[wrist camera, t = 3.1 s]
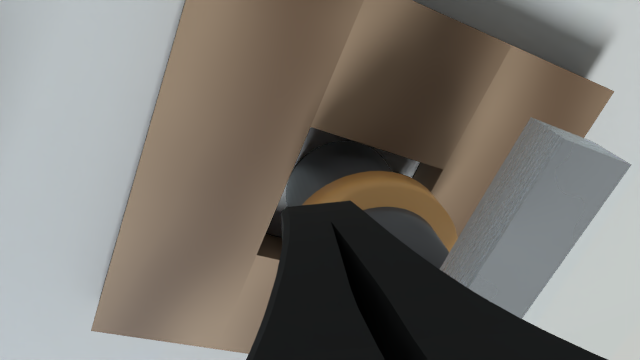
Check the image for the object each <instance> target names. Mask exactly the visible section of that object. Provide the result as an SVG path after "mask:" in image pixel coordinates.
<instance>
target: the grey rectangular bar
mask: <svg viewBox="0 0 640 360" xmlns="http://www.w3.org/2000/svg"><path fill="white" fill-rule="evenodd" d="M630 166H631V164H629V163H628V162H626V161H624V160H623V159H621V158H619V157H618V156H616V155H614V154H613V153H611V152H609V151H608V150H606V149H604V148H603V147H601V146H599V145H598V144H596V143H594V142H592V141H590V140H587V139H585V138H582V137H580V136H577V135H575V134H572V133H570V132H567V131H564V130H562V129H559V128H557V127H554V126H552V125H549V124H547V123H544V122H542V121H539V120H537V119H534V118H531V117H530V119H529V121H528V122H527V124H526V126H525V127H524V129H523V131H522V132H521V134H520V136H519V137H518V139H517V141H516V142H515V144H514V146H513V147H512V149H511V151H510V152H509V154H508V156H507V157H506V159H505V161H504V162H503V164H502V166H501V167H500V169H499V171H498V172H497V174H496V176H495V177H494V179H493V181H492V182H491V184H490V186H489V187H488V189H487V191H486V192H485V194H484V196H483V197H482V199H481V201H480V202H479V204H478V206H477V207H476V209H475V211H474V212H473V214H472V216H471V217H470V219H469V221H468V222H467V224H466V226H465V227H464V229H463V231H462V232H461V234H460V236H459V237H458V239H457V241H456V242H455V244H454V246H453V247H452V249H451V251H450V252H449V254H448V256H447V257H446V259H445V261H444V262H443V264H442V266H441V267H440V270H441V271H443V272H444V273H446V274H447V275H449V276H450V277H452V278H453V279H455V280H456V281H458V282H459V283H461V284H462V285H464V286H465V287H467V288H469V289H470V290H472V291H473V292H475V293H477V294H478V295H480V296H482V297H483V298H485V299H487V300H489V301H490V302H492V303H494V304H496V305H498V306H499V307H501V308H503V309H505V310H506V311H508V312H510V313H512V314H514V315H515V316H517V317H519V318H521V319H522V318H523V316H524V315H525V313H526V312H527V311H528V309H529V308H530V306H531V305H532V304H533V302H534V301H535V299H536V298H537V297H538V295H539V294H540V292H541V291H542V290H543V288H544V287H545V285H546V284H547V283H548V281H549V280H550V278H551V277H552V276H553V274H554V273H555V271H556V270H557V269H558V267H559V266H560V264H561V263H562V261H563V260H564V259H565V257H566V256H567V254H568V253H569V252H570V250H571V249H572V247H573V246H574V245H575V243H576V242H577V240H578V239H579V238H580V236H581V235H582V233H583V232H584V231H585V229H586V228H587V226H588V225H589V224H590V222H591V221H592V219H593V218H594V217H595V215H596V214H597V212H598V211H599V210H600V208H601V207H602V205H603V204H604V202H605V201H606V200H607V198H608V197H609V195H610V194H611V193H612V191H613V190H614V188H615V187H616V186H617V184H618V183H619V181H620V180H621V179H622V177H623V176H624V174H625V173H626V172H627V170H628V169H629V167H630Z"/></svg>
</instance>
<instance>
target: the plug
mask: <svg viewBox="0 0 640 360" xmlns="http://www.w3.org/2000/svg"><path fill="white" fill-rule="evenodd" d="M341 201H352V202H353V203H354V204H356V205H357V206H358V207H359V208H361V209H362V210H363V211H364V212H365V213H367V214H368V215H369V216H370V217H372V218H373V219H374V220H375V221H376V222H378V223H379V224H380V225H381V226H383V227H384V228H385V229H386V230H387V231H389V232H390V233H391V234H392V235H394V236H395V237H396V238H398V239H399V240H400V241H401V242H403V243H404V244H405V245H407V246H408V247H409V248H411V249H412V250H413V251H415V252H416V253H417V254H419V255H420V256H421V257H423V258H424V259H426V260H427V261H428V262H430V263H431V264H433V265H434V266H435V267H437V268H438V269H440V267H441V266H442V264H443V262H444V261H445V259H446V257H447V256H448V254H449V252H450V251H451V249H452V247H453V246H454V244H455V242H456V241H457V239H458V237H457V233H456V228H455V226H454V224H453V221H452V219H451V218H450V216H449V215H448V213H447V212H446V210H445V209H444V208H443V207H442V205H441V204H440V203H439V202H438V200H437V199H436V198H435V197H434V195H433V194H432V193H431V192H430V191H429V190H428V189H427V188H426V187H425V186H424V185H422V184H421V183H420V182H418V181H416V180H414V179H413V178H410V177H408V176H405V175H403V174H399V173H394V172H392V170H391V169H390V168H389V166H388V165H387V163H386V162H385V161H384V159H383V158H382V157H381V156H380V155H379V154H378V153H377V152H376V151H375V150H373V149H372V148H370V147H368V146H366V145H363V144H360V143H356V142H349V141H341V142H334V143H330V144H326V145H324V146H321V147H319V148H317V149H315V150H313V151H312V152H310V153H309V154H307V155H306V156H305V157H304V158H303V159H302V160H301V161H300V162H299V163H298V164H297V165H296V167H295V168H294V170H293V171H292V173H291V175H290V177H289V180H288V183H287V188H286V202H287V206H288V207H291V206H301V205H311V204H321V203H331V202H341Z"/></svg>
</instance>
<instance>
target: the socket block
mask: <svg viewBox="0 0 640 360" xmlns="http://www.w3.org/2000/svg"><path fill="white" fill-rule="evenodd" d="M613 93H614V91H612V90H610V89H608V88H606V87H603V86H601V85H599V84H597V83H595V82H592V81H590V80H588V79H586V78H583V77H581V76H579V75H577V74H575V73H572V72H570V71H568V70H566V69H563V68H561V67H559V66H557V65H555V64H552V63H550V62H548V61H546V60H544V59H541V58H539V57H537V56H535V55H532V54H530V53H528V52H526V51H524V50H521V49H519V48H517V47H515V46H512V45H510V44H508V43H506V42H504V41H501V40H499V39H497V38H495V37H492V36H490V35H488V34H486V33H484V32H481V31H479V30H477V29H475V28H473V27H470V26H468V25H466V24H464V23H461V22H459V21H457V20H455V19H453V18H450V17H448V16H446V15H444V14H441V13H439V12H437V11H435V10H433V9H430V8H428V7H426V6H424V5H422V4H419V3H417V2H415V1H413V0H185V4H184V7H183V11H182V14H181V18H180V21H179V25H178V28H177V32H176V35H175V39H174V42H173V46H172V49H171V53H170V56H169V60H168V63H167V67H166V70H165V74H164V77H163V81H162V84H161V88H160V91H159V95H158V98H157V102H156V105H155V109H154V112H153V116H152V119H151V123H150V126H149V129H148V133H147V136H146V140H145V143H144V147H143V150H142V154H141V157H140V161H139V164H138V168H137V171H136V175H135V178H134V182H133V185H132V189H131V192H130V196H129V199H128V203H127V206H126V210H125V213H124V217H123V220H122V224H121V227H120V231H119V234H118V238H117V241H116V245H115V248H114V251H113V255H112V258H111V262H110V265H109V269H108V272H107V276H106V279H105V283H104V286H103V290H102V293H101V297H100V300H99V304H98V307H97V311H96V315H95V318H94V322H93V326H92V329H91V331H96V332H103V333H110V334H116V335H123V336H130V337H137V338H144V339H151V340H158V341H165V342H172V343H178V344H185V345H192V346H199V347H206V348H213V349H220V350H227V351H233V352H240V353H247V354H249V352H250V350H251V347H252V345H253V343H254V340H255V338H256V335H257V333H258V330H259V328H260V325H261V322H262V320H263V317H264V314H265V311H266V308H267V305H268V301H269V298H270V295H271V292H272V288H273V285H274V282H275V278H276V274H277V270H278V265H279V260H280V255H281V250H282V238H281V237H276V236H272V235H268V234H266V231H267V229H268V227H269V224H270V222H271V220H272V217H273V215H274V213H275V210H276V208H277V205H278V203H279V201H280V198H281V196H282V194H283V191H284V189H285V186H286V184H287V182H288V179H289V177H290V175H291V172H292V170H293V167H294V165H295V163H296V160H297V158H298V156H299V153H300V151H301V148H302V146H303V144H304V141H305V139H306V137H307V134H308V132H309V129H310V127H313V128H316V129H319V130H322V131H325V132H328V133H331V134H334V135H337V136H341V137H344V138H347V139H350V140H353V141H356V142H359V143H362V144H365V145H368V146H372V147H375V148H378V149H381V150H384V151H387V152H390V153H393V154H396V155H400V156H403V157H406V158H409V159H412V160H415V161H418V162H421V163H420V165H419V167H418V169H417V171H416V173H415V175H414V177H413V179H414V180H416V181H418V182H420V183H421V184H422V185H424V186H425V187H426V188H427V189H428V190H429V191H430V192H431V193H432V194H433V195H434V197H435V198H436V199H437V200H438V202H439V203H440V204H441V205H442V207H443V208H444V209H445V210H446V212H447V213H448V215H449V216H450V218H451V219H452V221H453V224H454V226H455V228H456V233H457V237H459V236H460V234H461V232H462V231H463V229H464V227H465V226H466V224H467V222H468V221H469V219H470V217H471V216H472V214H473V212H474V211H475V209H476V207H477V206H478V204H479V202H480V201H481V199H482V197H483V196H484V194H485V192H486V191H487V189H488V187H489V186H490V184H491V182H492V181H493V179H494V177H495V176H496V174H497V172H498V171H499V169H500V167H501V166H502V164H503V162H504V161H505V159H506V157H507V156H508V154H509V152H510V151H511V149H512V147H513V146H514V144H515V142H516V141H517V139H518V137H519V136H520V134H521V132H522V131H523V129H524V127H525V126H526V124H527V122H528V121H529V119H530V117H531V118H534V119H537V120H539V121H542V122H544V123H547V124H549V125H552V126H554V127H557V128H559V129H562V130H564V131H567V132H570V133H572V134H575V135H577V136H580V137H582V138H584V137H585V135H586V134H587V132H588V131H589V129H590V128H591V126H592V125H593V123H594V122H595V120H596V119H597V117H598V116H599V114H600V113H601V111H602V109H603V108H604V106H605V105H606V103H607V102H608V100H609V99H610V97H611V96H612V94H613Z"/></svg>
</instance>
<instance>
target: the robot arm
mask: <svg viewBox="0 0 640 360" xmlns="http://www.w3.org/2000/svg"><path fill="white" fill-rule="evenodd" d="M281 225H282V250H281V255H280V260H279V265H278V270H277V274H276V278H275V282H274V285H273V288H272V292H271V295H270V298H269V301H268V305H267V308H266V311H265V314H264V317H263V320H262V322H261V325H260V328H259V330H258V333H257V335H256V338H255V340H254V343H253V345H252V347H251V350H250V352H249V355H248V357H247V359H246V360H607V359H605V358H603V357H600V356H598V355H596V354H593V353H591V352H589V351H587V350H585V349H583V348H580V347H578V346H576V345H574V344H572V343H570V342H568V341H565V340H563V339H561V338H559V337H557V336H555V335H553V334H550V333H548V332H546V331H544V330H542V329H540V328H538V327H536V326H534V325H532V324H530V323H528V322H526V321H525V320H523V319H521V318H519V317H517V316H515V315H514V314H512V313H510V312H508V311H506V310H505V309H503V308H501V307H499V306H498V305H496V304H494V303H492V302H490V301H489V300H487V299H485V298H483V297H482V296H480V295H478V294H477V293H475V292H473V291H472V290H470V289H469V288H467V287H465V286H464V285H462V284H461V283H459V282H458V281H456V280H455V279H453V278H452V277H450V276H449V275H447V274H446V273H444V272H443V271H441V270H440V269H438V268H437V267H435V266H434V265H433V264H431V263H430V262H428V261H427V260H426V259H424V258H423V257H421V256H420V255H419V254H417V253H416V252H415V251H413V250H412V249H411V248H409V247H408V246H407V245H405V244H404V243H403V242H401V241H400V240H399V239H398V238H396V237H395V236H394V235H392V234H391V233H390V232H389V231H387V230H386V229H385V228H384V227H383V226H381V225H380V224H379V223H378V222H376V221H375V220H374V219H373V218H372V217H370V216H369V215H368V214H367V213H365V212H364V211H363V210H362V209H361V208H359V207H358V206H357V205H356V204H354V203H353V202H352V201H341V202H331V203H321V204H311V205H301V206H291V207H286V208H285V209H284V210H283V211H282V212H281Z"/></svg>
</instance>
